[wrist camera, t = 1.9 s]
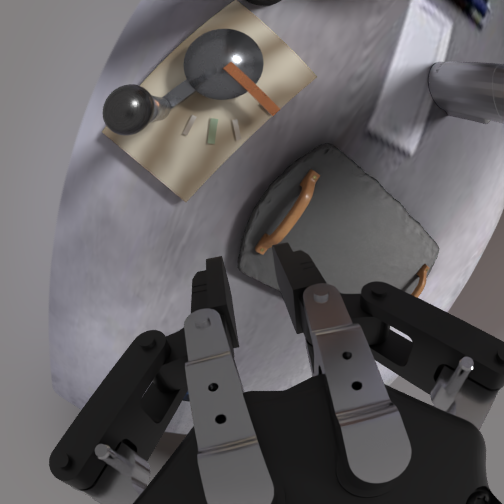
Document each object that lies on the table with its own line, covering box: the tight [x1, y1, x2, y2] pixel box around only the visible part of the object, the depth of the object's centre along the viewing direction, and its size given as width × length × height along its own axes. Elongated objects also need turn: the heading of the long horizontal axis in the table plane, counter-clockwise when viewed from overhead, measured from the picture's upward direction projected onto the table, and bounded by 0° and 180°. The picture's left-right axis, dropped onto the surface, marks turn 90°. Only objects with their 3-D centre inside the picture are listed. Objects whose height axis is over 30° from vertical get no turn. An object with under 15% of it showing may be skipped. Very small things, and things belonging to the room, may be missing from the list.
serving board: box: [238, 143, 439, 298], centre depth 45 cm, size 39×23×6 cm, turn 57°
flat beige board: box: [102, 0, 317, 202], centre depth 31 cm, size 15×24×2 cm, turn 134°
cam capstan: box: [103, 29, 280, 136], centre depth 23 cm, size 13×15×17 cm
